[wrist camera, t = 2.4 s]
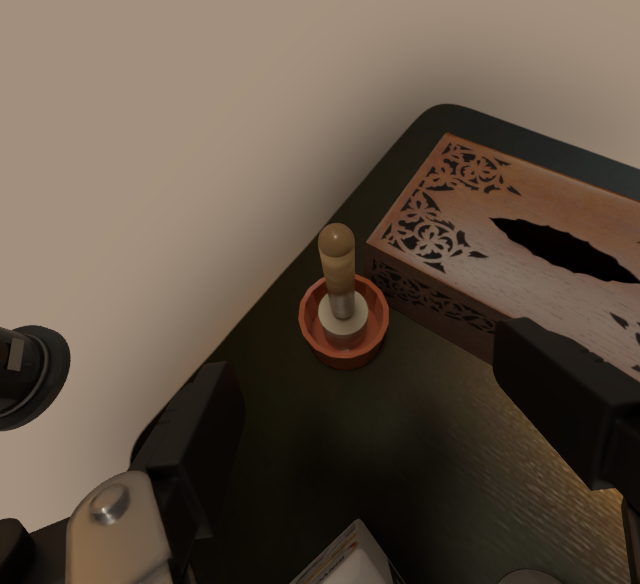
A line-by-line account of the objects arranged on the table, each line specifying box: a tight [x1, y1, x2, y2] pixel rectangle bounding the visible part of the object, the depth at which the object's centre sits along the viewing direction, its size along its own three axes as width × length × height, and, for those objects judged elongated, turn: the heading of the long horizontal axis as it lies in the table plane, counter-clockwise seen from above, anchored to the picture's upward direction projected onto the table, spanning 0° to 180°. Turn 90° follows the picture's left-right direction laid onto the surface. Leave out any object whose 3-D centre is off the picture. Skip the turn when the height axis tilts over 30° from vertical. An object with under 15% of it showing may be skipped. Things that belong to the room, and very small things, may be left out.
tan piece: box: [318, 223, 368, 351], centre depth 24 cm, size 4×4×18 cm
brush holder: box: [298, 274, 389, 370], centre depth 30 cm, size 8×8×6 cm
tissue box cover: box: [364, 133, 640, 382], centre depth 28 cm, size 26×14×10 cm, turn 55°
